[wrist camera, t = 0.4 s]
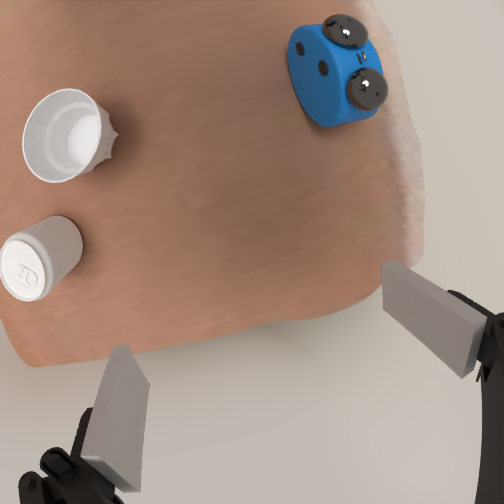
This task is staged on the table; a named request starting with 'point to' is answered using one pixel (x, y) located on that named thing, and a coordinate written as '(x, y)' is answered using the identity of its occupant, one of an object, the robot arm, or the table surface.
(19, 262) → the beverage can
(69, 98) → the cup
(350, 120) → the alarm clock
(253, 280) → the table surface
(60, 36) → the table surface
